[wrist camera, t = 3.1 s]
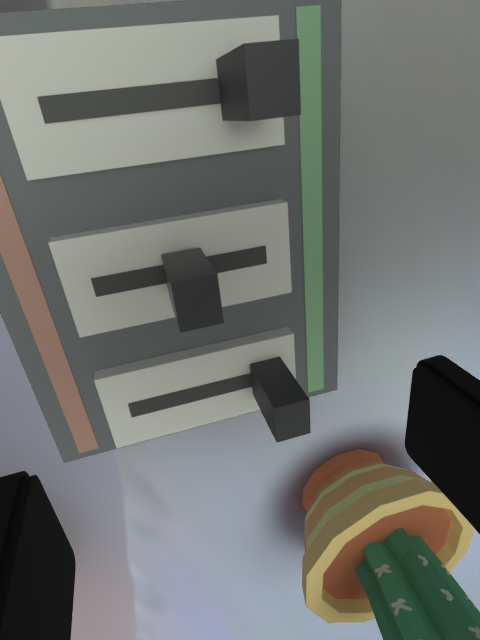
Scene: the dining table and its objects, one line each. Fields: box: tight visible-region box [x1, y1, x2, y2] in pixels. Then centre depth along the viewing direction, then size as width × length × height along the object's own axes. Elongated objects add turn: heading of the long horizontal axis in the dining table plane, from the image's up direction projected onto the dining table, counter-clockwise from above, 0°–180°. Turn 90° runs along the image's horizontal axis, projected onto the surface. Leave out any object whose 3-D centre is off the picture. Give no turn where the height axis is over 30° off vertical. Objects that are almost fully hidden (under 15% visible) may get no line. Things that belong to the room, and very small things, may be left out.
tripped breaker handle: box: [161, 248, 224, 333], centre depth 19 cm, size 2×2×4 cm
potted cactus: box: [302, 449, 480, 640], centre depth 29 cm, size 15×15×25 cm
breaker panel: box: [0, 0, 341, 463], centre depth 21 cm, size 23×19×8 cm
